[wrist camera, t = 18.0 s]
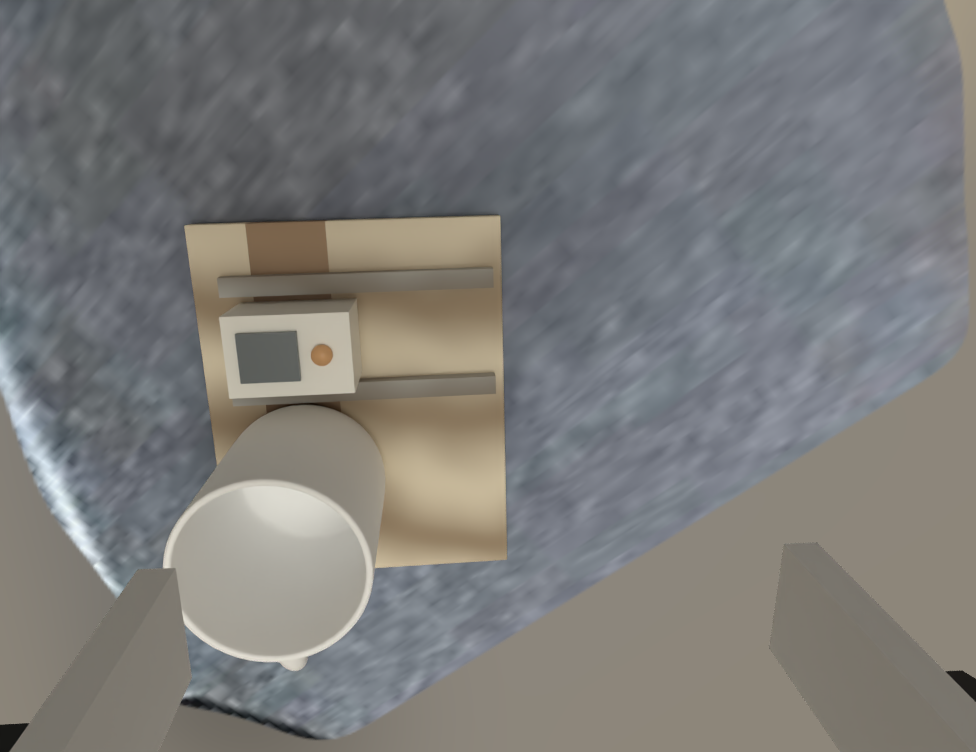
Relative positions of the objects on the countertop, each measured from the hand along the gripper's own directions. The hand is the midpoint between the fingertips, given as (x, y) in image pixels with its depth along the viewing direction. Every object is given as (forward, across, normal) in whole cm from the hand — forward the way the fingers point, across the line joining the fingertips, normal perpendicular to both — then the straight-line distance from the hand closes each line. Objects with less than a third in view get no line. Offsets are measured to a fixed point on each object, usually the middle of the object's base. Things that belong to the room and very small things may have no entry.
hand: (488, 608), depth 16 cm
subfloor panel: (+25, -5, -4) cm, 26 cm away
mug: (+24, -8, -9) cm, 27 cm away
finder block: (+24, -8, 0) cm, 26 cm away
